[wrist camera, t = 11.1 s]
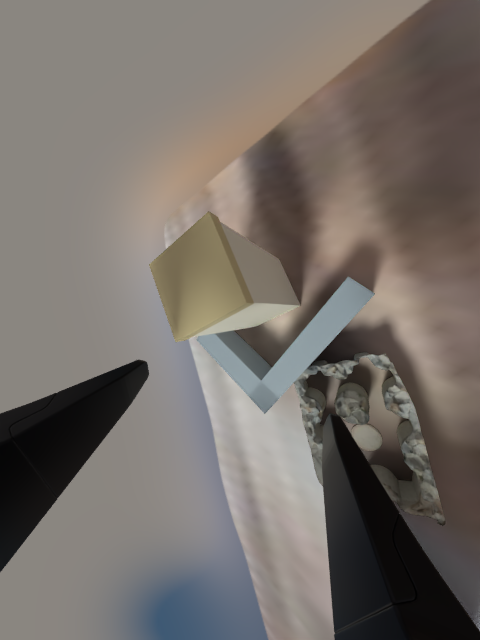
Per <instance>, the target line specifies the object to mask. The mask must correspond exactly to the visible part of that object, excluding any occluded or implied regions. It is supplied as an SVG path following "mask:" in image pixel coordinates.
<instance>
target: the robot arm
mask: <svg viewBox="0 0 480 640" xmlns="http://www.w3.org/2000/svg"><path fill="white" fill-rule="evenodd" d="M148 375H149V370H148V365H147V362H146V361H143V360H136V361H134V362H132V363H129V364H126V365H124V366H121V367H119V368H117V369H114V370H112V371H109V372H107V373H104V374H102V375H99V376H97V377H94V378H92V379H89V380H87V381H84V382H82V383H79V384H77V385H74V386H72V387H69V388H67V389H65V390H62V391H59V392H58V393H54V394H52V395H50V396H47V397H45V398H42V399H39V400H37V401H34V402H32V403H29V404H26V405H23V406H21V407H18V408H15V409H12V410H9V411H6V412H4V413H1V414H0V572H1V571H2V569H3V568H4V567H5V566H6V564H7V563H8V562H9V561H10V559H11V558H12V557H13V555H14V554H15V553H16V552H17V550H18V549H19V548H20V546H21V545H22V544H23V542H24V541H25V540H26V539H27V537H28V536H29V535H30V534H31V532H32V531H33V530H34V528H35V527H36V526H37V524H38V523H39V522H40V521H41V519H42V518H43V517H44V516H45V514H46V513H47V511H48V510H49V509H50V508H51V507H52V505H53V504H54V503H55V501H56V500H57V498H58V497H59V496H60V495H61V493H62V492H63V491H64V490H65V488H66V487H67V486H68V484H69V483H70V482H71V481H72V479H73V478H74V477H75V475H76V474H77V473H78V472H79V470H80V469H81V467H82V466H83V465H84V464H85V463H86V461H87V460H88V459H89V457H90V456H91V455H92V453H93V452H94V451H95V450H96V448H97V447H98V446H99V445H100V443H101V442H102V441H103V439H104V438H105V437H106V435H107V434H108V433H109V432H110V430H111V429H112V428H113V426H114V425H115V424H116V423H117V421H118V420H119V419H120V418H121V416H122V415H123V414H124V412H125V411H126V410H127V409H128V407H129V406H130V405H131V403H132V402H133V400H134V399H135V397H136V395H137V394H138V392H139V391H140V389H141V388H142V386H143V384H144V383H145V381H146V380H147V378H148ZM322 477H323V491H324V504H325V517H326V530H327V543H328V557H329V570H330V583H331V596H332V609H333V623H334V632H335V634H334V637H335V640H480V631H479V629H478V628H477V627H476V625H475V624H474V622H473V621H472V620H471V618H470V617H469V615H468V614H467V612H466V611H465V610H464V608H463V607H462V605H461V604H460V602H459V601H458V600H457V598H456V597H455V595H454V594H453V593H452V591H451V590H450V588H449V587H448V585H447V584H446V583H445V581H444V580H443V578H442V577H441V575H440V574H439V572H438V571H437V570H436V568H435V567H434V565H433V564H432V562H431V561H430V559H429V558H428V556H427V555H426V553H425V552H424V550H423V549H422V547H421V546H420V544H419V543H418V541H417V540H416V538H415V536H414V535H413V533H412V532H411V530H410V529H409V527H408V525H407V524H406V522H405V521H404V519H403V517H402V516H401V515H400V514H399V511H398V509H397V508H396V506H395V504H394V503H393V501H392V500H391V498H390V496H389V495H388V493H387V492H386V490H385V488H384V487H383V485H382V483H381V482H380V480H379V479H378V477H377V475H376V474H375V472H374V470H373V469H372V467H371V466H370V464H369V462H368V461H367V459H366V458H365V456H364V454H363V453H362V451H361V449H360V448H359V446H358V445H357V443H356V441H355V440H354V438H353V436H352V435H351V433H350V432H349V430H348V428H347V427H346V425H345V423H344V422H343V420H342V419H341V417H340V416H338V415H335V414H329V415H328V417H327V419H326V422H325V424H324V427H323V448H322Z"/></svg>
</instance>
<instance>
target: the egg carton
mask: <svg viewBox="0 0 480 640" xmlns="http://www.w3.org/2000/svg"><path fill="white" fill-rule="evenodd" d="M362 357H368V358H369V359H370V360H371V362H372V363H373V364H374V365H375V366H376V367H378V368H379V369H382V370H390V371H391V373H392V374H393V377H390V378H388V379H387V380H386V381H385V382H384V383H383V385H382V394H383V398H384V402H385V407H386V409H387V410H390V411H392V412H393V413H395V414H396V415H398V416H400V417H403V418H407V419H409V420H407V421H404V422H402V423H401V424H400V425H399V427H398V429H397V435H398V440H399V443H400V446H401V450H402V453H403V455H404V460H403V461H404V462H405V463H406V464H407V465H408V466H409V467H410V469H411V470H413V471H414V472H413V477H412V481H403V480H397V479H396V477H395V476H394V474H393V473H392V472H391V471H390V470H389V469H387V468H385V467H383V466H381V465H370V466H371V467H372V469H373V470H374V472H375V474H376V475H377V477H378V479H379V480H380V482H381V483H382V485H383V487H384V488H385V490H386V492H387V493H388V495H389V496H390V498H391V500H392V501H397V504H398V505H399V507H400V508H401V510H403V511H404V512H407V513H410V514H413V515H419V516H427V517H430V518H434V519H437V521H438V524H440V525H442V526H443V525H444V524H445V517H444V513H443V509H442V506H441V502H440V499H439V495H438V491H437V487H436V483H435V480H434V476H433V473H432V470H431V466H430V461H429V457H428V454H427V450H426V446H425V443H424V439H423V436H422V433H421V428H420V424H419V420H418V417H417V413H416V410H415V407H414V404H413V402H412V400H411V398H410V396H409V394H408V392H407V390H406V388H405V386H404V385H403V383H402V381H401V379H400V377H399V376H398V374H397V372H396V369H395V367H394V365H393V363H391V362H390V360H389V358H388V357H387V354H385V353H384V354H383V355H373V354H371V355H369V354H368V353H367V352H362V353H357V354H355V355H354V361H349V360H344V361H340V362H338V363H336V364H328V363H327V362H326V361H325V360H321V361H316V362H314V363H313V365H312V366H311V367H309V368H307V369H306V370H305V371H304V372H303V373H302V374H301V375H300V376H299V377H298V378H297V379H296V381H295V382H294V384H295V388H296V392H297V394H298V397H299V401H300V408H301V409H302V418H303V424H304V427H305V430H306V433H307V437H308V442H309V445H310V448H311V453H312V458H313V462H314V467H315V471H316V475H317V477H318V480H319V482H320V483H321V485H322V486H323V477H322V448H323V427H324V425H321V424H320V423H319V422H321V420H322V415H323V412H324V409H325V406H326V400H325V397H324V395H323V394H322V392H320V391H319V390H317V389H315V388H310V387H308V385H307V382H306V380H307V379H308V378H309V376H310V375H315V374H316V373H317V372H318V371H319V370H320V371H321V372H322V373H323V374H324V375H325V376H332V377H334V378H336V379H339V380H342V379H346V378H347V376H348V374H350V373H352V371H353V367H354V365H358V364H359V359H360V358H362ZM334 404H335V409H336V413H337V414H338V415H339V416H341V417H342V418H343V419H344V420H345V421H346V422H348V423H352V424H356V425H355V426H353V428H352V430H351V435H352V436H353V438H354V440H355V441H356V443H357V445H358V446H359V447H360V448H361V449H363V450H366V451H375V450H376V449H378V448H380V447H381V444H382V436H381V435H380V433H379V431H378V430H377V429H376V428H375V427H373V426H372V425H369V424H367V423H368V421H369V401H368V395H367V392H366V391H365V389H364V388H363V387H361V386H360V385H358V384H356V383H345V384H343V385H342V386H341V387H340V388H339V389H338V392H337V395H336V398H335V403H334Z"/></svg>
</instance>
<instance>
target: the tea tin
mask: <svg viewBox="0 0 480 640" xmlns="http://www.w3.org/2000/svg"><path fill="white" fill-rule="evenodd" d="M149 266H150V269H151V272H152V275H153V277H154V280H155V283H156V286H157V289H158V292H159V295H160V298H161V301H162V303H163V306H164V309H165V313H166V315H167V318H168V321H169V324H170V327H171V330H172V333H173V336H174V339H175V341H176V342H179V341H185V340H187V339H189V338H191V337H197V336H203V335H209V334H215V333H221V332H227V331H233V330H239V329H245V328H251V327H257V326H259V325H261V324H263V323H265V322H267V321H269V320H271V319H274V318H276V317H278V316H280V315H282V314H284V313H286V312H288V311H291V310H293V309H295V308H297V307H299V306H301V305H300V303H299V301H298V299H297V297H296V295H295V292H294V290H293V288H292V286H291V284H290V282H289V279H288V277H287V275H286V273H285V271H284V269H283V266H282V264H281V262H280V260H279V259H278V258H277V257H275V256H273V255H272V254H270V253H269V252H267V251H266V250H264V249H262V248H261V247H259V246H258V245H256V244H254V243H253V242H251V241H250V240H248V239H247V238H245V237H243V236H242V235H240V234H239V233H237V232H235V231H234V230H232V229H231V228H229V227H228V226H226V225H224V224H223V223H221V222H220V221H219V219H218V217H217V216H215V215H214V214H212V213H211V212H207V213H206V214H205V215H204V216H203V217H202V218H201V219H200V220H198V221H197V222H196V223H195V224H194V225H193V226H192V227H191V228H190V229H188V230H187V231H186V232H185V233H184V234H183V235H182V236H181V237H180V238H178V239H177V240H176V241H175V242H174V243H173V244H172V245H171V246H169V247H168V248H167V249H166V250H165V251H164V252H163V253H162V254H161V255H159V256H158V257H157V258H156V259H155V260H154V261H153V262H152V263H151V264H149Z"/></svg>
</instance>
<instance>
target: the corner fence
mask: <svg viewBox="0 0 480 640" xmlns="http://www.w3.org/2000/svg"><path fill="white" fill-rule="evenodd" d="M374 294H375V293H373V292H372V291H370V290H368V289H367V288H365V287H364V286H362V285H361V284H359V283H357V282H356V281H354V280H353V279H351V278H350V277H347V279H346V280H345V281H344V282H343V283H342V285H341V286H340V287H339V288H338V289H337V291H336V292H335V293H334V294H333V295H332V297H331V298H330V299H329V300H328V301H327V303H326V304H325V305H324V306H323V307H322V309H321V310H320V311H319V312H318V313H317V315H316V316H315V317H314V318H313V319H312V321H311V322H310V323H309V324H308V325H307V327H306V328H305V329H304V330H303V331H302V333H301V334H300V335H299V336H298V337H297V338H296V340H295V341H294V342H293V343H292V344H291V346H290V347H289V348H288V349H287V350H286V352H285V353H284V354H283V355H282V356H281V358H280V359H279V360H278V361H277V362H276V364H275V365H274V366H273V367H271V366H270V365H269V364H268V363H267V362H266V361H265V360H264V359H263V358H262V357H261V356H260V355H259V354H258V353H257V352H256V351H255V350H254V349H252V348H251V347H250V346H249V345H248V344H247V343H246V342H245V341H244V340H243V339H242V338H241V337H240V336H239V335H238V334H237V333H236V332H235V331H234V330H233V331H227V332H221V333H215V334H209V335H203V336H198V338H197V341H198V342H199V343H200V344H201V345H202V346H203V347H204V349H205V350H206V351H207V352H208V353H209V354H210V355H211V356H212V357H213V358H214V359H215V360H216V362H217V363H218V364H219V365H220V366H221V367H222V368H223V369H224V370H225V371H226V372H227V373H228V375H229V376H230V377H231V378H232V379H233V380H234V381H235V382H236V383H237V384H238V385H239V386H240V387H241V389H242V390H243V391H244V392H245V393H246V394H247V395H248V396H249V397H250V398H251V399H252V400H253V402H254V403H255V404H256V405H257V406H258V407H259V408H260V409H261V410H262V411H263V412H264V413H266V412H267V411H268V410H269V409H270V408H271V407H272V406H273V405H274V403H275V402H276V401H277V400H278V399H279V398H280V397H281V396H282V395H283V394H284V393H285V391H286V390H287V389H288V388H289V387H290V386H291V385H292V384H293V383H294V382H295V381H296V379H297V378H298V377H299V376H300V375H301V374H302V373H303V372H304V371H305V370H306V369H307V367H308V366H309V365H310V364H311V363H312V362H313V361H314V360H315V359H316V358H317V357H318V355H319V354H320V353H321V352H322V351H323V350H324V349H325V348H326V347H327V346H328V345H329V343H330V342H331V341H332V340H333V339H334V338H335V337H336V336H337V335H338V334H339V333H340V332H341V330H342V329H343V328H344V327H345V326H346V325H347V324H348V323H349V322H350V321H351V320H352V318H353V317H354V316H355V315H356V314H357V313H358V312H359V311H360V310H361V309H362V308H363V306H364V305H365V304H366V303H367V302H368V301H369V300H370V299H371V298H372V297H373V296H374Z"/></svg>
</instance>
